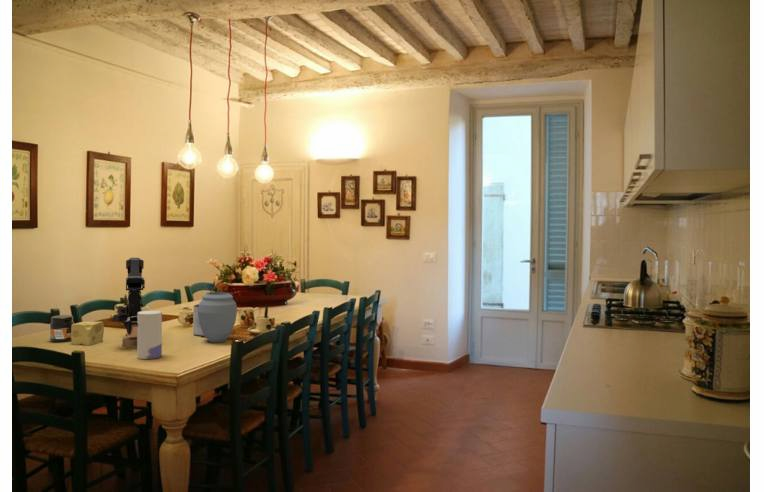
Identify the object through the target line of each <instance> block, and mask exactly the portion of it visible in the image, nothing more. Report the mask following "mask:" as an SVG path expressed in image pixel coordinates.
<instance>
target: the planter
mask: <svg viewBox="0 0 764 492" xmlns="http://www.w3.org/2000/svg"><path fill="white" fill-rule="evenodd" d="M198 306H199V303H198V304H195V305H193V316H192V317H193V318H192V319H193V321H192V323H193V325H192V333H193V334H194V335H195V336H197V337H205V335H204V334H203V332H202V329H201V326H200V323H199V318H198V311H197V310H198Z"/></svg>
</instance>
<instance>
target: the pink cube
mask: <svg viewBox="0 0 764 492" xmlns="http://www.w3.org/2000/svg"><path fill="white" fill-rule="evenodd" d="M126 334H127V335H126V337H137V324H135V325H132V326H131V333H130V335H128V332H127V331H126Z"/></svg>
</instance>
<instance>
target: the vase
mask: <svg viewBox="0 0 764 492" xmlns="http://www.w3.org/2000/svg"><path fill="white" fill-rule="evenodd" d="M233 298H234V296H233V295H232V294H230V292H228V291H227V292H225V291H213V292H212V291H211V292H207V293H204V294H203V296H202V298H201V301H200V302H199V303H198V304H199V306H198V310H197V311H198V318H199V323H200V326H201V329H202V332H203V334H204V335H205V336H204V337H205V339H207V341H209V342H210V343H223V341H224V342H225V341H227V340H228V339H229V337H230V335H231V333H232V332H233V329H234V327H235V324H236V320H237V314H238V306H237V302H236V301H235V300H234V299H233Z"/></svg>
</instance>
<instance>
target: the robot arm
mask: <svg viewBox="0 0 764 492" xmlns="http://www.w3.org/2000/svg"><path fill="white" fill-rule="evenodd" d="M144 262H145V261H144V260H143V259H141V258H140V257H130V258H129V259H127V260H125V269H126V270H127V277H126V278H125V291H128V292H127V293H128V294H127V303H126V304H125V306H123V305H119V306H118V307H117V313H118V314H114V315H113V316H112V321H114V322H117V323H118V322H119V323H122V324H123V325H124V327H125V329H126V334H125V336H127V332H128V335H130V333H131V326H132V325H135V324H137V315H138V312H141V311H143V309H142V307H143V306H144V305H143V303H142V291H144V289H146V288H145V287H146V286H145V285H146V280H145V278H144V277H143V270H144V266H145V265H144ZM147 311H150V309H149V310H147Z"/></svg>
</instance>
